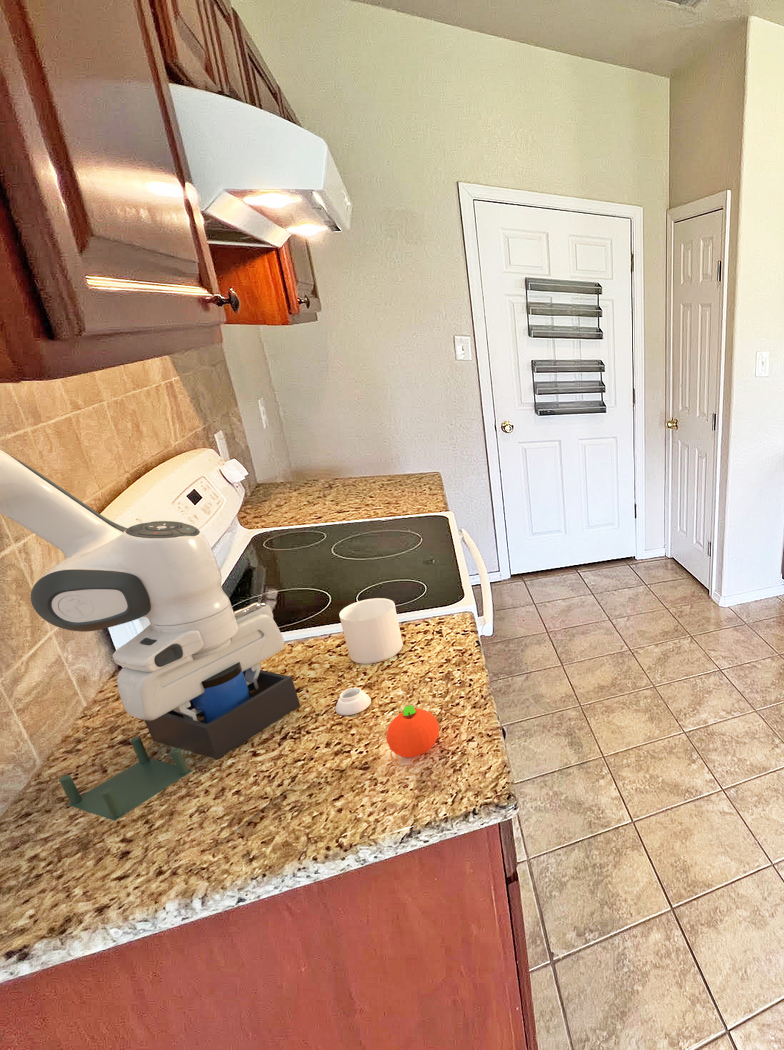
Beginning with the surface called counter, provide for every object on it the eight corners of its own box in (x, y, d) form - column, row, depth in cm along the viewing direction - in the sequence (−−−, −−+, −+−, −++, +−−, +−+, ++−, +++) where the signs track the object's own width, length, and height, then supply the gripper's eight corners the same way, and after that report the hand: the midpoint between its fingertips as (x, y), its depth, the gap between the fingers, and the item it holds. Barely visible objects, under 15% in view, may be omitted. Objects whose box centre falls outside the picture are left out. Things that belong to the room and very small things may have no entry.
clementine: (388, 741, 88) (379, 703, 85) (437, 726, 91) (430, 689, 89) (393, 774, 82) (384, 734, 79) (445, 756, 85) (438, 717, 83)
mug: (402, 658, 109) (393, 615, 105) (346, 668, 105) (335, 624, 102) (405, 629, 119) (397, 589, 116) (354, 637, 115) (345, 596, 112)
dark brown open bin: (155, 746, 86) (139, 710, 83) (242, 695, 97) (231, 662, 95) (219, 764, 83) (205, 727, 80) (301, 710, 94) (291, 676, 92)
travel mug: (192, 733, 88) (171, 677, 84) (236, 707, 93) (218, 654, 90) (225, 742, 86) (204, 685, 82) (267, 715, 92) (250, 661, 88)
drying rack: (68, 809, 74) (53, 780, 73) (149, 762, 83) (137, 734, 81) (117, 826, 72) (103, 796, 71) (195, 775, 80) (184, 747, 79)
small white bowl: (378, 702, 97) (356, 695, 98) (375, 687, 95) (352, 681, 97) (352, 720, 92) (329, 713, 94) (348, 705, 91) (325, 698, 93)
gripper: (252, 594, 93) (274, 666, 99) (96, 661, 75) (133, 744, 80) (282, 600, 92) (302, 672, 97) (130, 669, 74) (165, 754, 79)
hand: (224, 705), depth 88 cm, fingers open, 7 cm apart
